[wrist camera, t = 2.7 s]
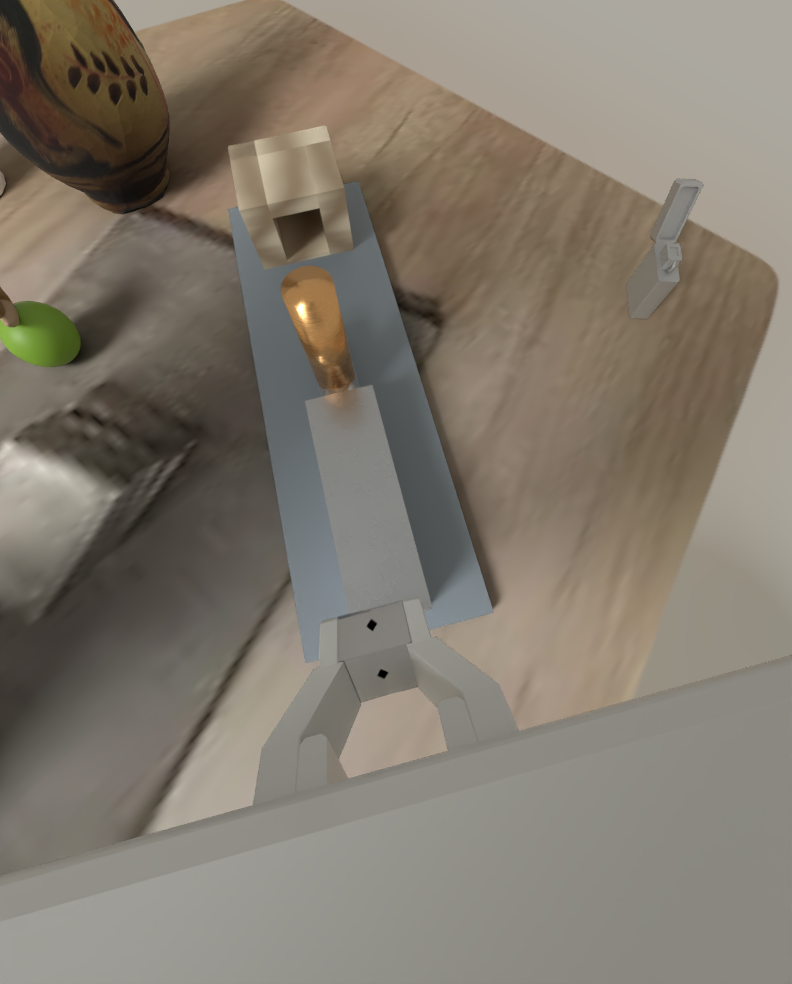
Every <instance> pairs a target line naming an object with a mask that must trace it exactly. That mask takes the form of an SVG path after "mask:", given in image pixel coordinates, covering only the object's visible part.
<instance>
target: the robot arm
mask: <svg viewBox="0 0 792 984" xmlns="http://www.w3.org/2000/svg"><path fill="white" fill-rule="evenodd" d="M417 687H419V689H420V690H421V691H422V692H423V693H424V695H425V696H426V697H427V698H428V699H429V700H430V701H431V702H432V703H433V704H434V705H435V706H436V707H437V708H438V711H439V715H440V720H441V724H442V728H443V732H444V736H445V741H446V745H447V749H448V751H446V752H442V753H438V754H435V755H431V756H428V757H424V758H421V759H417V760H413V761H410V762H406V763H403V764H399V765H396V766H392V767H388V768H385V769H381V770H378V771H374V772H370V773H367V774H363V775H360V776H356V777H353V778H349V779H348V777H347V775H346V773H345V771H344V769H343V767H342V765H341V763H340V761H339V757H340V755H341V753H342V750H343V748H344V745H345V743H346V740H347V738H348V736H349V733H350V731H351V728H352V726H353V723H354V721H355V718H356V716H357V714H358V711H359V709H360V706H361V703H362V702H365V701H368V700H371V699H375V698H378V697H381V696H385V695H388V694H392V693H396V692H400V691H404V690H408V689H412V688H417ZM0 984H792V655H789V656H786V657H782V658H779V659H775V660H772V661H768V662H764V663H761V664H757V665H754V666H750V667H746V668H743V669H739V670H736V671H732V672H728V673H725V674H721V675H718V676H714V677H711V678H707V679H704V680H700V681H696V682H693V683H689V684H685V685H682V686H678V687H675V688H672V689H668V690H664V691H660V692H657V693H653V694H650V695H646V696H642V697H639V698H635V699H632V700H628V701H625V702H621V703H617V704H614V705H610V706H607V707H603V708H599V709H596V710H592V711H589V712H585V713H582V714H578V715H574V716H571V717H567V718H564V719H560V720H556V721H553V722H549V723H546V724H542V725H539V726H535V727H531V728H528V729H524V730H521V731H519V729H518V727H517V725H516V722H515V720H514V718H513V715H512V713H511V711H510V708H509V706H508V704H507V701H506V699H505V697H504V694H503V692H502V690H501V687H500V685H499V684H498V683H497V682H496V681H494V680H493V679H492V678H490V677H489V676H488V675H486V674H485V673H484V672H482V671H481V670H480V669H478V668H477V667H476V666H474V665H473V664H472V663H471V662H469V661H468V660H467V659H465V658H464V657H463V656H461V655H460V654H459V653H457V652H456V651H455V650H453V649H452V648H451V647H449V646H448V645H447V644H445V643H444V642H443V641H441V640H440V639H439V638H437V637H433V638H431V635H430V631H429V628H428V625H427V621H426V618H425V614H424V611H423V607H422V604H421V600H420V597H419V596H418V595H417V596H414V597H410V598H407V599H403V602H402V600H400V601H396V602H392V603H389V604H385V605H381V606H378V607H374V608H371V609H367V610H363V611H359V612H354V613H350V614H346V615H342V616H338V617H335V618H331V619H326V620H322V622H321V624H320V643H319V668H317V669H314V670H313V671H312V673H311V674H310V676H309V677H308V679H307V680H306V682H305V683H304V685H303V686H302V688H301V689H300V691H299V692H298V694H297V695H296V697H295V699H294V700H293V702H292V703H291V705H290V706H289V708H288V709H287V711H286V712H285V714H284V715H283V717H282V718H281V720H280V721H279V723H278V724H277V726H276V727H275V729H274V731H273V732H272V734H271V735H270V737H269V738H268V740H267V741H266V743H265V744H264V746H263V747H262V751H261V757H260V764H259V770H258V776H257V782H256V789H255V795H254V801H253V805H252V806H249V807H245V808H241V809H238V810H234V811H231V812H227V813H224V814H220V815H216V816H213V817H209V818H206V819H202V820H198V821H195V822H191V823H188V824H184V825H181V826H177V827H173V828H170V829H166V830H163V831H159V832H155V833H152V834H148V835H145V836H141V837H137V838H134V839H130V840H127V841H123V842H120V843H116V844H112V845H109V846H105V847H102V848H98V849H94V850H91V851H87V852H84V853H80V854H76V855H73V856H69V857H66V858H62V859H58V860H55V861H51V862H48V863H44V864H40V865H37V866H33V867H30V868H26V869H23V870H19V871H15V872H12V873H8V874H5V875H1V876H0Z"/></svg>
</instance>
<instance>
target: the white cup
mask: <svg viewBox="0 0 792 984" xmlns="http://www.w3.org/2000/svg"><path fill="white" fill-rule="evenodd" d="M5 186H6V181H5V178H4V175H3V173H2V172H1V171H0V196H1V195H2V193H3V191H4V188H5Z"/></svg>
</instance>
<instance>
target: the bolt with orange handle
mask: <svg viewBox="0 0 792 984" xmlns="http://www.w3.org/2000/svg"><path fill="white" fill-rule="evenodd" d="M281 295H282V298H283V300H284V302H285V305H286V307H287V310H288V312H289V315H290V317H291V319H292V322H293V324H294V327H295V329H296V332H297V334H298V336H299V339H300V341H301V344H302V346H303V348H304V351H305V353H306V356H307V358H308V361H309V363H310V365H311V368H312V370H313V373H314V375H315V378H316V380H317V384H318V388H319V393H320V397H323V396H327V395H332V394H336V393H340V392H344V391H348V390H352V389H356V388H360V387H359V383H358V379H357V375H356V371H355V368H354V364H353V360H352V356H351V352H350V348H349V344H348V340H347V337H346V333H345V329H344V325H343V320H342V316H341V312H340V307H339V303H338V299H337V295H336V290H335V286H334V282H333V279H332V277H331V275H330V274H329V273H328V272H327V271H326V270H324V269H322V268H320V267H316V266H303V267H299V268H297V269H295V270H293V271H291V272H290V273H289V274H288V275H287V276H286V277H285V278H284V280H283V281H282V284H281Z"/></svg>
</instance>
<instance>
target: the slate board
mask: <svg viewBox="0 0 792 984" xmlns="http://www.w3.org/2000/svg"><path fill="white" fill-rule="evenodd" d="M343 185H344V189H345V196H346V202H347V208H348V215H349V221H350V228H351V234H352V241H353V247H354V250H349V251H345V252H340V253H336V254H332V255H327V256H323V257H318V258H314V259H309V260H305V261H300V262H296V263H292V264H287V265H283V266H278V267H274V268H269V269H264V267H263V265H262V262H261V260H260V258H259V256H258V253H257V251H256V249H255V246H254V244H253V242H252V239H251V237H250V235H249V232H248V230H247V228H246V225H245V223H244V221H243V218H242V216H241V214H240V211H239V207H236V208H231V209H228V211H229V217H230V223H231V228H232V234H233V240H234V246H235V252H236V258H237V264H238V270H239V275H240V281H241V287H242V293H243V299H244V305H245V311H246V317H247V322H248V328H249V334H250V340H251V346H252V352H253V358H254V364H255V370H256V375H257V381H258V387H259V393H260V399H261V405H262V411H263V417H264V422H265V428H266V434H267V440H268V446H269V452H270V458H271V464H272V469H273V475H274V481H275V487H276V493H277V499H278V505H279V511H280V517H281V522H282V528H283V534H284V540H285V546H286V552H287V558H288V564H289V569H290V575H291V581H292V587H293V593H294V599H295V605H296V611H297V616H298V622H299V628H300V634H301V640H302V646H303V652H304V658H305V663H308V662H312V661H316V660H319V643H320V624H321V622H322V620H326V619H331V618H335V617H338V616H342V615H346V614H349V611H348V606H347V601H346V596H345V592H344V587H343V582H342V577H341V572H340V568H339V563H338V558H337V553H336V548H335V544H334V539H333V534H332V529H331V524H330V519H329V515H328V510H327V505H326V500H325V495H324V491H323V486H322V481H321V476H320V471H319V467H318V462H317V457H316V452H315V447H314V443H313V438H312V433H311V428H310V423H309V418H308V414H307V409H306V404H305V401H307V400H311V399H315V398H319V397H320V393H319V388H318V384H317V380H316V378H315V375H314V373H313V370H312V368H311V365H310V363H309V361H308V358H307V356H306V353H305V351H304V348H303V346H302V344H301V341H300V339H299V336H298V334H297V332H296V329H295V327H294V324H293V322H292V319H291V317H290V315H289V312H288V310H287V307H286V305H285V302H284V300H283V298H282V295H281V284H282V281H283V280H284V278H285V277H286V276H287V275H288V274H289V273H290V272H291V271H293V270H295V269H297V268H299V267H303V266H316V267H320V268H322V269H324V270H326V271H327V272H328V273H329V274H330V275H331V277H332V279H333V282H334V286H335V290H336V295H337V299H338V303H339V307H340V312H341V316H342V320H343V325H344V329H345V333H346V337H347V340H348V344H349V348H350V352H351V356H352V360H353V364H354V368H355V371H356V375H357V379H358V383H359V387H360V388H361V387H365V386H369V385H373V389H374V393H375V396H376V400H377V404H378V407H379V411H380V415H381V419H382V422H383V426H384V430H385V433H386V437H387V441H388V445H389V448H390V452H391V456H392V459H393V463H394V467H395V470H396V474H397V478H398V482H399V485H400V489H401V493H402V496H403V500H404V504H405V508H406V511H407V515H408V519H409V522H410V526H411V530H412V533H413V537H414V541H415V545H416V548H417V552H418V556H419V559H420V563H421V567H422V571H423V574H424V578H425V582H426V585H427V589H428V593H429V597H430V600H431V604H432V608H433V609H430V610H426V611H424V614H425V618H426V621H427V625H428V628H429V630H431V629H434V628H438V627H442V626H446V625H449V624H453V623H457V622H460V621H464V620H468V619H472V618H475V617H479V616H483V615H486V614H490V613H494V612H493V608H492V605H491V602H490V599H489V596H488V592H487V589H486V586H485V583H484V580H483V576H482V573H481V570H480V567H479V564H478V560H477V557H476V554H475V551H474V548H473V545H472V541H471V538H470V535H469V532H468V529H467V525H466V522H465V519H464V516H463V513H462V509H461V506H460V503H459V500H458V497H457V493H456V490H455V487H454V484H453V481H452V478H451V474H450V471H449V468H448V465H447V462H446V458H445V455H444V452H443V449H442V446H441V442H440V439H439V436H438V433H437V430H436V426H435V423H434V420H433V417H432V414H431V411H430V407H429V404H428V401H427V398H426V395H425V391H424V388H423V385H422V382H421V379H420V375H419V372H418V369H417V366H416V363H415V359H414V356H413V353H412V350H411V347H410V344H409V340H408V337H407V334H406V331H405V328H404V324H403V321H402V318H401V315H400V312H399V308H398V305H397V302H396V299H395V296H394V292H393V289H392V286H391V283H390V280H389V277H388V273H387V270H386V267H385V264H384V261H383V257H382V254H381V251H380V248H379V245H378V241H377V238H376V235H375V232H374V229H373V225H372V222H371V219H370V216H369V213H368V210H367V206H366V203H365V200H364V197H363V194H362V190H361V187H360V184H359V181H355V182H351V183H346V184H343Z"/></svg>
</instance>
